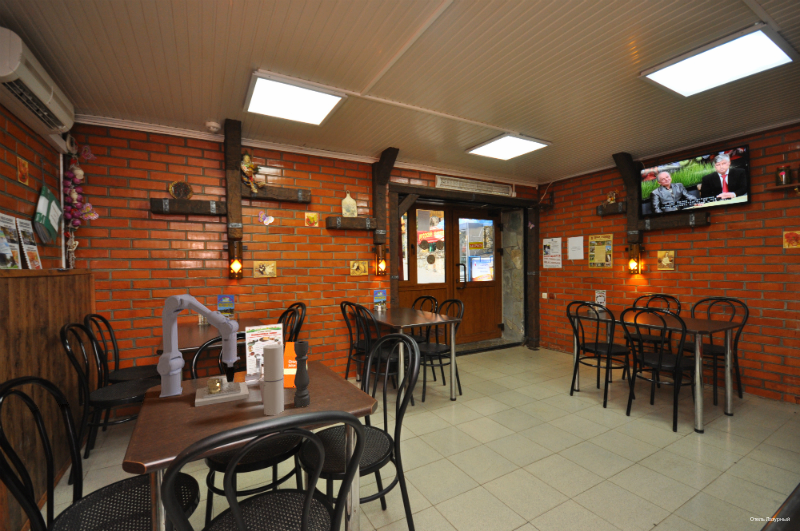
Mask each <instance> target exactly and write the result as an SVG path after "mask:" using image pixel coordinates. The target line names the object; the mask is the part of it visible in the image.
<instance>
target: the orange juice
mask: <svg viewBox="0 0 800 531" xmlns="http://www.w3.org/2000/svg"><path fill="white" fill-rule="evenodd" d="M294 342H295V341H292V342H291V341H286V342H285V348H284V351H283V381H284V388H296V387H295V385H294V378H295V374H296V369H297V361H296V360H295V357H296V356H297V355H296V354H295V351H294ZM306 356H308V355H306ZM306 367H307V368H308V359H307V360H306ZM293 386H294V387H293Z"/></svg>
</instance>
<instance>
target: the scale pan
mask: <svg viewBox="0 0 800 531" xmlns="http://www.w3.org/2000/svg"><path fill="white" fill-rule="evenodd" d="M239 383H240V382H239V381H237V382H234V383H229V384H222V385H221V392H220V393H217V394H209V391H208V386H204V387H203V388H204V398H207V397H213V396H220V395H226V394H232V393H239V392H241V388H240V384H239Z"/></svg>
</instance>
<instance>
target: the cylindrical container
mask: <svg viewBox="0 0 800 531" xmlns="http://www.w3.org/2000/svg"><path fill="white" fill-rule="evenodd" d="M262 352H263V355H262V358H263V377H264V404H263V415H265V414H266V415H265V416H267V415H274V414H278V415H280V414H279V413H280V412H282V411H285V402H284V401H285V398H284V397H285V396H284V395H285V394H284V393H285V392H284V391H285V390H284V388H285V387H284V345H283V344H277V343H276V344H267V345H264V346H263V347H262ZM274 416H275V415H274Z"/></svg>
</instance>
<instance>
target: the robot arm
mask: <svg viewBox="0 0 800 531" xmlns="http://www.w3.org/2000/svg"><path fill="white" fill-rule="evenodd" d="M184 310H192V311H193V312H195V313H197V314H199V315H201V316H203V317H205V318H206V322H207V323H208V324H210V325H211V326H213V327H215V328H216V329H218V332H219V333H220V335H221V341H222V342H221V346H222V347H221V348H222V352H221V353H222V357H221V362H222V364H223V366H222V369H223V371H224V373H225V376H226V378H227V382H233V380H234V381H235V374H236V371H237V368H238V365H237V364H236V363H237V361H238V360H241V358H240V356H237V355H238V349H237V348H238V347H237V346H238V342H237V341H238V340H237V333H238V331H239V328H240V325H239V323H238V321H237V320H235V319H230V317H226V316H225V315H223V314H222V313H221V311H217V310H214V311H212V310H210V308H208V307H206V306H205V305H204V304H202V303H201V302H199V301H198V300H197V299H196V297H195V296H192V295H191V294H190V293H189V294H188V293H183V294H177V295H174V294H173V295H170V296H168V298H166V299H165V300H164V306H163V309H162V311H161V319H162V320H161V323H162V345H163V346H162V347H163V348H162V350H163V352H162V354H161V355H160V356H159V358H158V364H156V365H157V366H156V371H157V373H158V374H159V375H160V377H161V378H160V379H161V392H160V394H159V398H165V397H172V396H178V395H182V391H183V387H181V386H182V385H181V384H182V382H181V376H182V375H181V372H182V368H184V366H185V360H184V358H183V354H182V352H181V351H179V345H178V344H179V341H178V340H179V338H178V334H179V333H178V315H179V314H180V313H182V312H183V311H184Z"/></svg>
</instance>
